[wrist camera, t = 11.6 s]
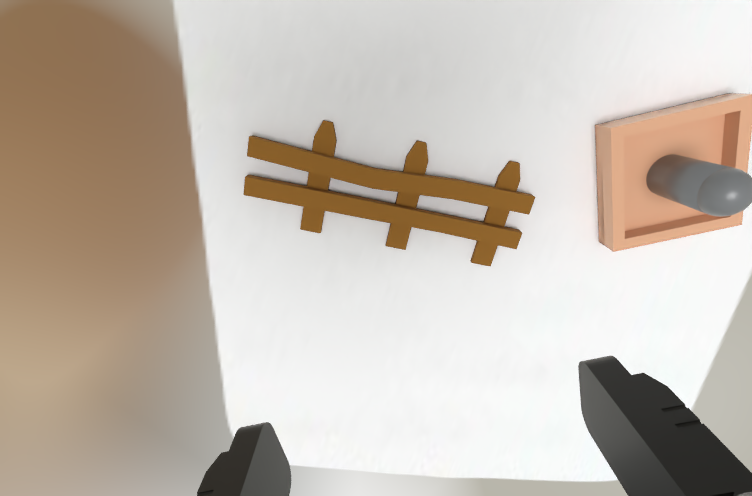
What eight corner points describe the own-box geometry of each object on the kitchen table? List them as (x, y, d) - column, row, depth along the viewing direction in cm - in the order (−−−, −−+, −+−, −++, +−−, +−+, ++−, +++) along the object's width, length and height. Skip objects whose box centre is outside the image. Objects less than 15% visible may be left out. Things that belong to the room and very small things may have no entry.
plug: (646, 159, 35) (718, 179, 28) (689, 150, 35) (773, 166, 27) (646, 199, 36) (714, 227, 29) (687, 190, 36) (767, 216, 29)
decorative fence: (501, 264, 40) (536, 166, 37) (507, 273, 39) (545, 170, 35) (247, 215, 38) (258, 105, 35) (241, 221, 36) (251, 106, 33)
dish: (595, 125, 35) (610, 127, 32) (729, 93, 34) (755, 93, 32) (599, 241, 39) (613, 251, 36) (719, 216, 38) (741, 224, 36)
